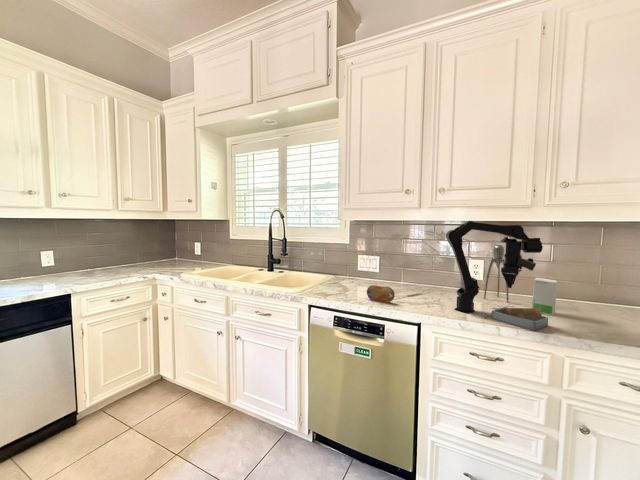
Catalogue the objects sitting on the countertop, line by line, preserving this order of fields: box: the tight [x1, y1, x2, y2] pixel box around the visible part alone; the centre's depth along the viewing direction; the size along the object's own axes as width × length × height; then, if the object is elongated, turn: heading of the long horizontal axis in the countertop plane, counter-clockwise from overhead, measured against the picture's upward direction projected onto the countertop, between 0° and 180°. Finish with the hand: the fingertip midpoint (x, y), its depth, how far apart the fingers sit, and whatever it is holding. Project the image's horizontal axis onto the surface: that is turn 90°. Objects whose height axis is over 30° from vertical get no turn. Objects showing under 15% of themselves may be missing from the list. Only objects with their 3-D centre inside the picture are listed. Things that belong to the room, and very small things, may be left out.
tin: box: [366, 284, 396, 304], centre depth 146 cm, size 15×3×8 cm, turn 54°
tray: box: [490, 306, 549, 332], centre depth 116 cm, size 16×11×4 cm
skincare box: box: [531, 277, 558, 316], centre depth 128 cm, size 8×7×16 cm
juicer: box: [483, 244, 509, 303], centre depth 147 cm, size 10×11×30 cm
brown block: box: [505, 307, 543, 319], centre depth 115 cm, size 4×4×12 cm
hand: (511, 286), depth 125 cm, fingers open, 9 cm apart
